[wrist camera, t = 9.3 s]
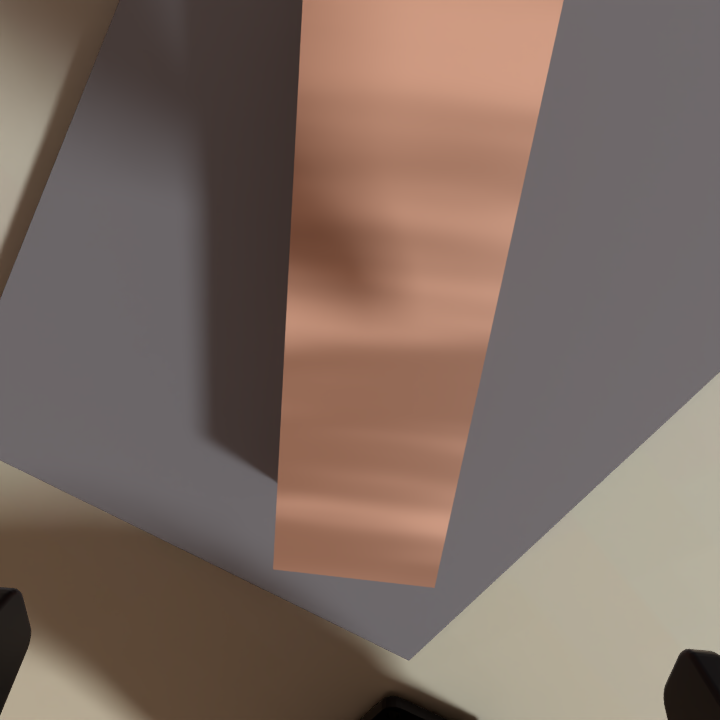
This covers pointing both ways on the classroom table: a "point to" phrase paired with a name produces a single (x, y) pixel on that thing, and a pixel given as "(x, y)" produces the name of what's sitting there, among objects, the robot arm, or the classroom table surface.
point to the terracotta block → (397, 267)
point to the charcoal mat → (270, 286)
